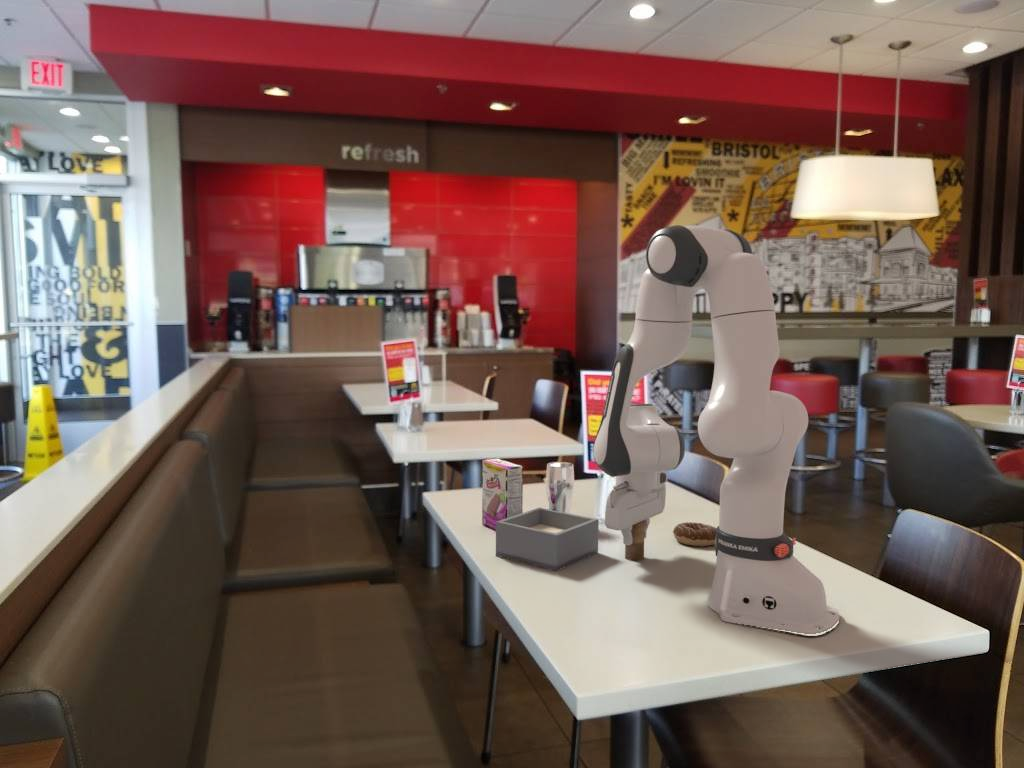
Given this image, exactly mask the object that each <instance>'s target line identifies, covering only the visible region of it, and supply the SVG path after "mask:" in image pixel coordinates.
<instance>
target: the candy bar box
mask: <svg viewBox="0 0 1024 768" xmlns="http://www.w3.org/2000/svg"><path fill="white" fill-rule="evenodd" d="M481 468H482V471H481V472H482V475H481V476H482V477H481V478H482V481H481V482H482V483H481V484H482V486H481V487H482V488H481V489H482V494H481V495H482V497H481V500H482V506H481V507H482V508H481V509H482V510H481V512H482V515H481V516H482V519H481V520H482V523H481V525H483V526H485V527H487V528H489V529H491V530H494V531H496V522H497V521H500V520H503V519H506V518H509V517H512V516H515V515H518V514H521V513H523V506H524V505H523V503H524V502H523V500H524V499H523V496H524V493H523V491H524V490H523V488H524V486H523V484H524V483H523V481H524V479H523V474H524V473H523V471H524V470H523V468H524V466H522V465H521V464H516V463H513V462H510V461H507V460H505V459H501V458H490V459H483V460H482V465H481Z"/></svg>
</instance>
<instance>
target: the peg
mask: <svg viewBox="0 0 1024 768" xmlns="http://www.w3.org/2000/svg"><path fill="white" fill-rule="evenodd" d="M644 531H645V522H644V521H641V522H639V523H637V524H634V525H632V530H631V533H632V536H634V543H633V544H632V545H625V544H624V545H625V546H624V547H625V548H624V549H625V550H624V551H625V552H624V553H625V554H624V556H625V557H624V558H625V559H626V560H628V561H633V562H635V561H636V562H639V561H643V560H644V558H645V539H644Z"/></svg>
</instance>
